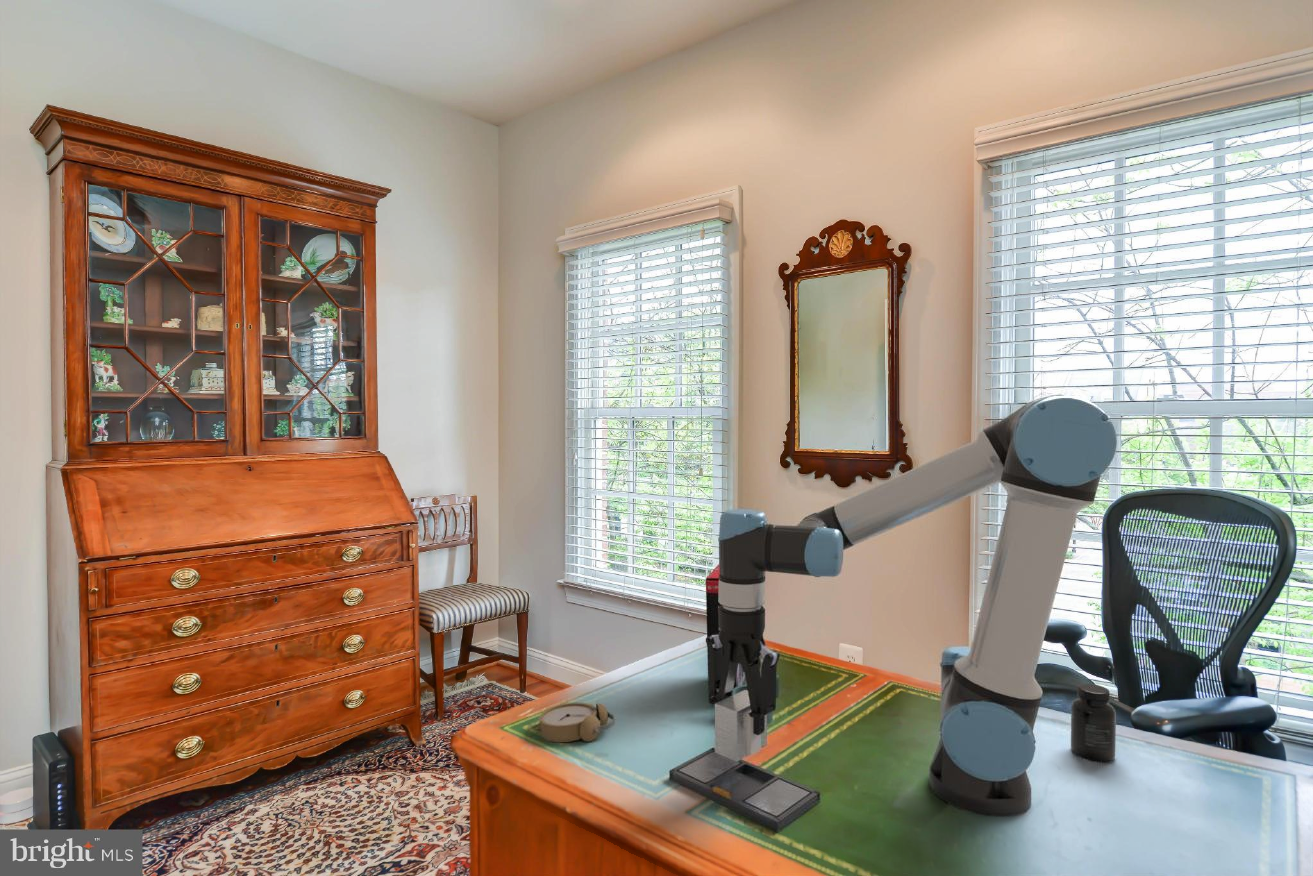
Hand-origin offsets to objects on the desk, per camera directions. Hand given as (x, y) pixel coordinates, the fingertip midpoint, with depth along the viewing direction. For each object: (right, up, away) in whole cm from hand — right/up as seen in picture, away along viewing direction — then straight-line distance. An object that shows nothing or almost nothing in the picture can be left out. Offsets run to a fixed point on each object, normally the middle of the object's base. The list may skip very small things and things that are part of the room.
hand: (741, 746), depth 116 cm
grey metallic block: (0, 0, 0) cm, 0 cm away
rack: (0, -7, 0) cm, 7 cm away
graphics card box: (+2, -6, +42) cm, 43 cm away
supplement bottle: (+65, -7, +12) cm, 66 cm away
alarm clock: (-29, -7, +23) cm, 38 cm away
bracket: (+6, -6, +29) cm, 30 cm away
